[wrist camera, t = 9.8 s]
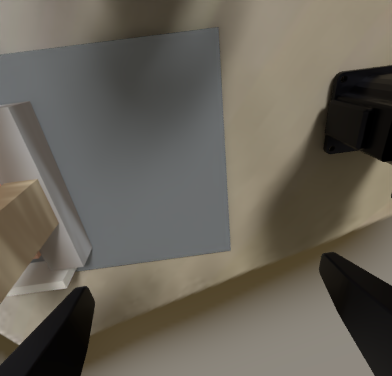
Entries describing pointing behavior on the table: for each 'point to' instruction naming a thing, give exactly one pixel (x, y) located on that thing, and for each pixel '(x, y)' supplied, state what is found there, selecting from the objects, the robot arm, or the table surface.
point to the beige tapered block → (33, 201)
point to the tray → (41, 279)
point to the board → (134, 140)
